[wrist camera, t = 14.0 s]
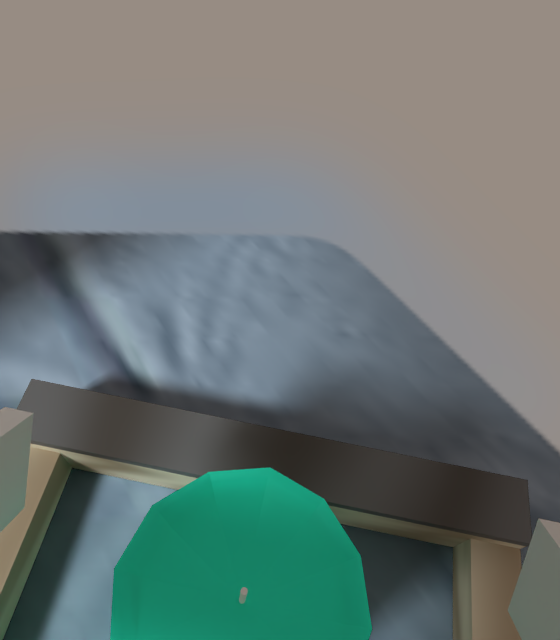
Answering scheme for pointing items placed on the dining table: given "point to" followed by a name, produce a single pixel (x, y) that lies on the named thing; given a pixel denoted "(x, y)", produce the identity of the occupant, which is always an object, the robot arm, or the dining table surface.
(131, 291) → the dining table surface
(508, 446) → the dining table surface
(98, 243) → the dining table surface
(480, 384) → the dining table surface
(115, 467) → the rectangular wooden frame
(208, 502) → the candle
